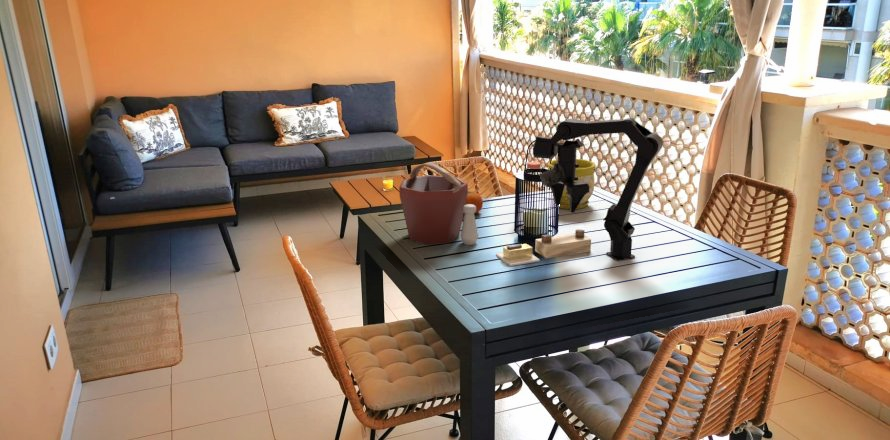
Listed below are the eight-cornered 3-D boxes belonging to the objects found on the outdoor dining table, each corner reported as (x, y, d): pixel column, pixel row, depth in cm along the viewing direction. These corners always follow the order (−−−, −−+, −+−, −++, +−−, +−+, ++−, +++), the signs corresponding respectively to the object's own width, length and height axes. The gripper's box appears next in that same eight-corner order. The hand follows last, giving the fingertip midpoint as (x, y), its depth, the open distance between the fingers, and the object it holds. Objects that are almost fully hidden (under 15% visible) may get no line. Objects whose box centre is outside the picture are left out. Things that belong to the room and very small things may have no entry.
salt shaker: (476, 246, 226) (476, 208, 222) (459, 245, 227) (459, 207, 223) (479, 240, 231) (479, 203, 227) (462, 239, 232) (462, 202, 228)
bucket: (476, 243, 229) (476, 169, 221) (413, 252, 221) (411, 176, 213) (449, 222, 250) (448, 154, 243) (390, 230, 243) (387, 160, 235)
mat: (539, 261, 212) (539, 259, 212) (510, 266, 209) (510, 264, 208) (524, 250, 221) (524, 249, 221) (496, 255, 217) (496, 253, 217)
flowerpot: (597, 211, 260) (599, 168, 256) (549, 211, 261) (550, 169, 256) (589, 198, 278) (591, 158, 273) (543, 198, 278) (545, 158, 273)
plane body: (590, 251, 220) (591, 233, 218) (545, 258, 214) (546, 239, 213) (578, 244, 226) (579, 226, 224) (535, 251, 221) (535, 233, 219)
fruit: (468, 219, 254) (468, 198, 251) (449, 213, 261) (448, 192, 259) (488, 213, 261) (488, 192, 258) (469, 207, 268) (469, 187, 266)
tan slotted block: (532, 256, 214) (532, 245, 213) (508, 260, 211) (509, 249, 210) (526, 252, 218) (526, 241, 217) (503, 256, 215) (503, 244, 214)
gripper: (529, 156, 220) (528, 204, 225) (559, 169, 204) (557, 220, 209) (560, 153, 224) (558, 200, 229) (591, 165, 208) (589, 215, 212)
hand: (564, 208), depth 220 cm, fingers open, 9 cm apart
